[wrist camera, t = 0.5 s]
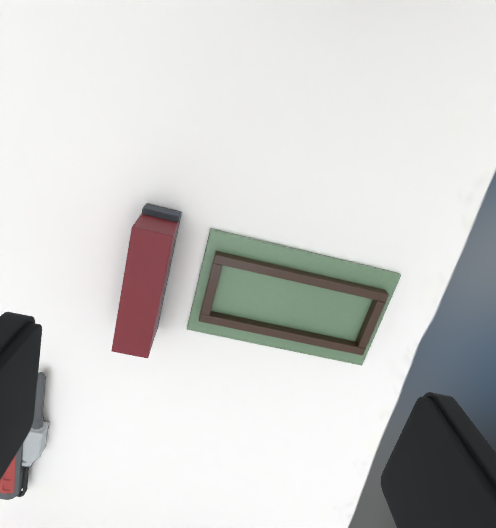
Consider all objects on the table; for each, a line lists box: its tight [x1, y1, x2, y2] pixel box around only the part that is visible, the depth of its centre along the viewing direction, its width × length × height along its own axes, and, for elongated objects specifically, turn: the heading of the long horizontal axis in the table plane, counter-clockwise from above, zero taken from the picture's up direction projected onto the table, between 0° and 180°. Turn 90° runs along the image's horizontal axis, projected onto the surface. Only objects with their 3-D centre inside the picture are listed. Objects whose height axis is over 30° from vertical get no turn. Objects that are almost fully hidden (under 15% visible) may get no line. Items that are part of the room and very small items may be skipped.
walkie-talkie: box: [0, 372, 49, 500], centre depth 50 cm, size 9×4×20 cm
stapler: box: [112, 204, 182, 358], centre depth 42 cm, size 14×4×6 cm, turn 165°
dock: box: [187, 229, 401, 365], centre depth 46 cm, size 12×21×2 cm, turn 75°
